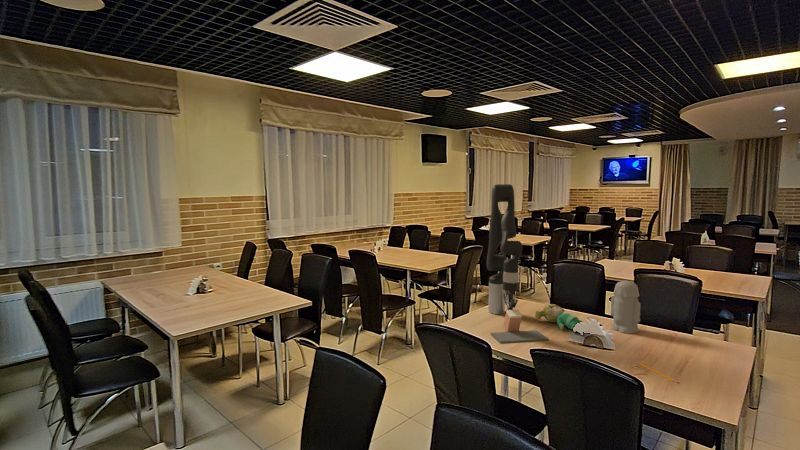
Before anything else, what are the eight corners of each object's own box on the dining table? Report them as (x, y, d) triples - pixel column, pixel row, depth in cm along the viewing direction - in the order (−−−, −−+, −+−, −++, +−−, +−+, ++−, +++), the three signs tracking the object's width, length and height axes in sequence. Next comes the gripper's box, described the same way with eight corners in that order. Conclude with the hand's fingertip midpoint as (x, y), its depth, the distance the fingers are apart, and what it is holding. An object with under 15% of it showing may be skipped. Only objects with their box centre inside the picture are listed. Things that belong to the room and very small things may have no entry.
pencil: (677, 384, 156) (677, 382, 156) (636, 363, 174) (636, 361, 174) (679, 384, 156) (679, 382, 156) (638, 363, 174) (638, 361, 174)
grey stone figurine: (604, 327, 218) (606, 279, 215) (615, 324, 223) (617, 277, 221) (633, 336, 206) (636, 285, 203) (644, 331, 211) (647, 282, 209)
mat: (490, 334, 208) (490, 332, 208) (536, 331, 211) (536, 330, 211) (499, 343, 196) (499, 341, 196) (548, 340, 200) (548, 338, 200)
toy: (578, 326, 202) (532, 301, 228) (574, 345, 204) (529, 318, 230) (601, 320, 209) (555, 297, 235) (598, 339, 212) (552, 314, 238)
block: (503, 326, 214) (506, 310, 210) (514, 325, 215) (518, 309, 211) (507, 332, 210) (510, 316, 206) (518, 332, 211) (522, 315, 207)
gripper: (498, 278, 218) (497, 311, 219) (508, 283, 205) (508, 319, 206) (512, 277, 219) (511, 310, 220) (523, 283, 206) (522, 318, 207)
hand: (509, 314), depth 213 cm, fingers closed
